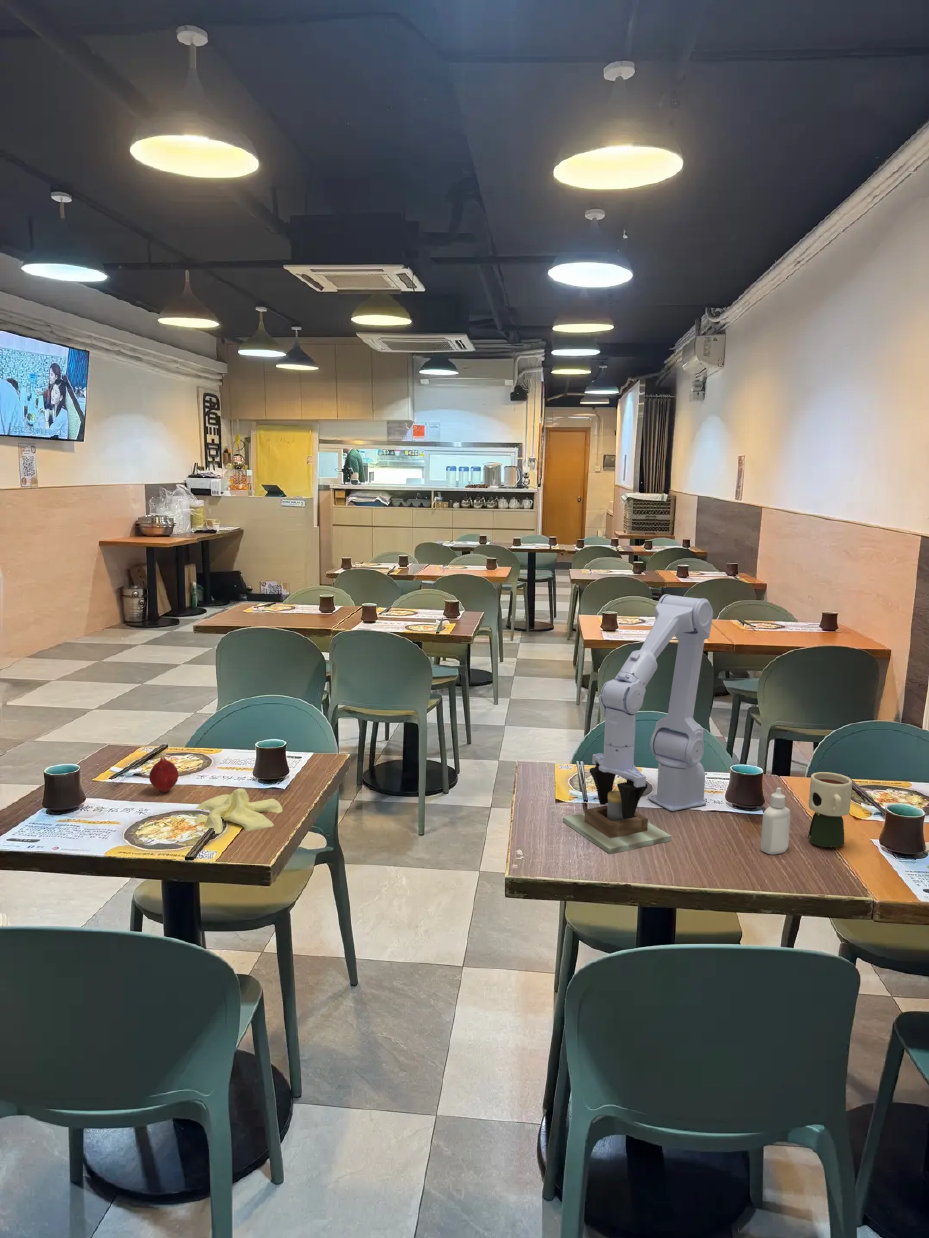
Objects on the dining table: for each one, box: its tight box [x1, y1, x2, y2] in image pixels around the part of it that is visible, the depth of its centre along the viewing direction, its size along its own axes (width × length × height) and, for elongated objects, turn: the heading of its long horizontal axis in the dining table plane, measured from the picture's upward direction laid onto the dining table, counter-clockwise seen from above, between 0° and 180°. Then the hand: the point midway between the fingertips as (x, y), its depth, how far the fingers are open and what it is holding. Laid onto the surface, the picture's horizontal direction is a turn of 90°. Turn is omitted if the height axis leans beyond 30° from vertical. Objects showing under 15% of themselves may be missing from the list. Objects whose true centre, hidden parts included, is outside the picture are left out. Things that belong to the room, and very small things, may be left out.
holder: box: [562, 804, 672, 855], centre depth 162 cm, size 14×16×4 cm
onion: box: [148, 755, 179, 793], centre depth 179 cm, size 6×6×8 cm
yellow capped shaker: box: [607, 790, 624, 821], centre depth 162 cm, size 4×4×8 cm
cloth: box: [193, 787, 283, 835], centre depth 166 cm, size 22×19×6 cm
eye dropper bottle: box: [760, 787, 791, 855], centre depth 154 cm, size 4×6×12 cm
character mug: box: [807, 771, 853, 848], centre depth 157 cm, size 11×7×13 cm, turn 172°
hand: (616, 810), depth 162 cm, fingers open, 7 cm apart
